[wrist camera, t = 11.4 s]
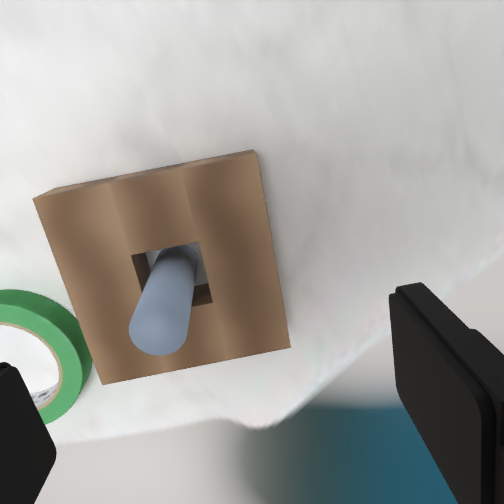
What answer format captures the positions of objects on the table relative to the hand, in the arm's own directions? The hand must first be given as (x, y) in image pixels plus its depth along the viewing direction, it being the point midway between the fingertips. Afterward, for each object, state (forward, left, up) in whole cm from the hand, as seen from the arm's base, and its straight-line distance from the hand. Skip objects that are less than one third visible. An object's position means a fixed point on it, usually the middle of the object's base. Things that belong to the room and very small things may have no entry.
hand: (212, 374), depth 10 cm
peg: (+4, +4, -20) cm, 21 cm away
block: (+4, +4, -20) cm, 21 cm away
